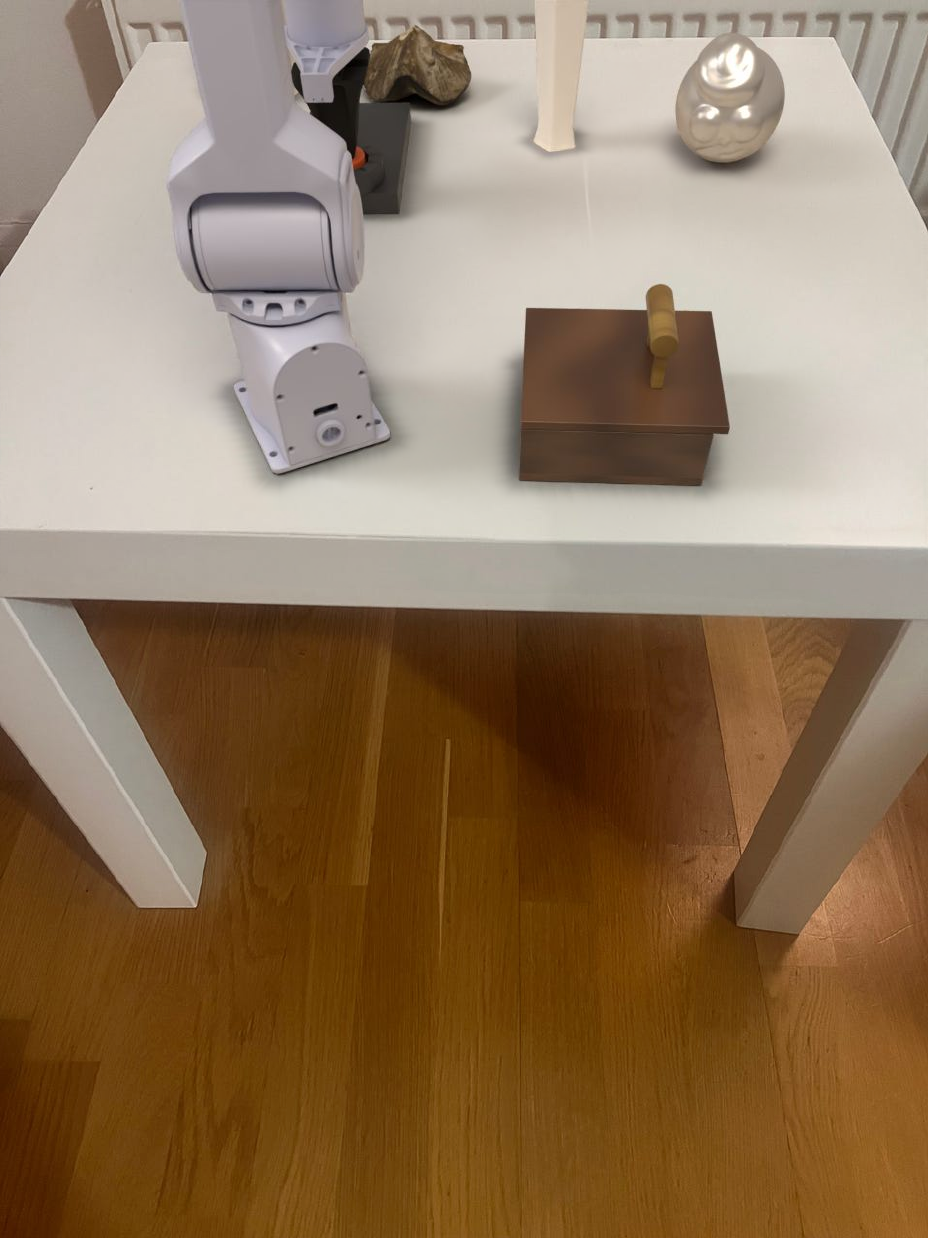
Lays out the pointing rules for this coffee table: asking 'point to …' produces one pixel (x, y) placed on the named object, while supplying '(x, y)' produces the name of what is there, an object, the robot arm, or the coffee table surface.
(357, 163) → the button
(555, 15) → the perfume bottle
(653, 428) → the case lid
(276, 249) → the robot arm
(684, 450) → the wooden case
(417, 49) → the fossilized seashell
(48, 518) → the coffee table surface
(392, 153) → the control box
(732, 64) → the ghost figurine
